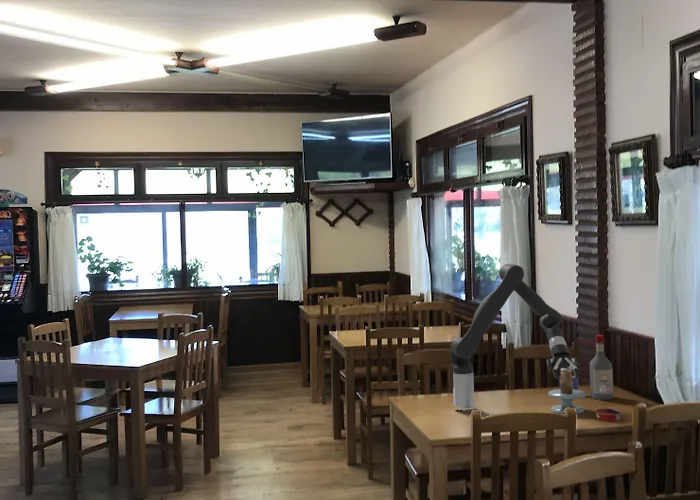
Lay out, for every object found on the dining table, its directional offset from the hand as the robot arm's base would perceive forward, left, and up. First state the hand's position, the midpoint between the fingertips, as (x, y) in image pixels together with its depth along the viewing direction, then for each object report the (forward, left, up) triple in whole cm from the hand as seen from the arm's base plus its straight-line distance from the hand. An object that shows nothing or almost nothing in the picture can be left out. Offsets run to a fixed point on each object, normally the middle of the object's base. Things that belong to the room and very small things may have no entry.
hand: (567, 377), depth 314 cm
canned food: (+13, -14, -16) cm, 24 cm away
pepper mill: (0, +1, -7) cm, 7 cm away
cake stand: (0, +1, -15) cm, 15 cm away
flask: (+10, +31, -15) cm, 36 cm away
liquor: (+23, +22, -15) cm, 36 cm away
